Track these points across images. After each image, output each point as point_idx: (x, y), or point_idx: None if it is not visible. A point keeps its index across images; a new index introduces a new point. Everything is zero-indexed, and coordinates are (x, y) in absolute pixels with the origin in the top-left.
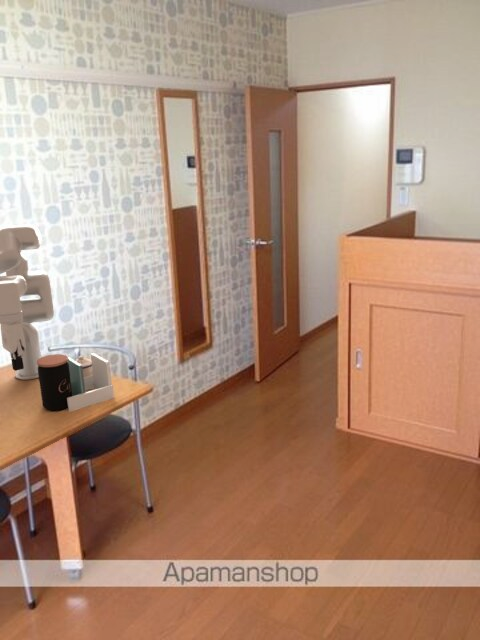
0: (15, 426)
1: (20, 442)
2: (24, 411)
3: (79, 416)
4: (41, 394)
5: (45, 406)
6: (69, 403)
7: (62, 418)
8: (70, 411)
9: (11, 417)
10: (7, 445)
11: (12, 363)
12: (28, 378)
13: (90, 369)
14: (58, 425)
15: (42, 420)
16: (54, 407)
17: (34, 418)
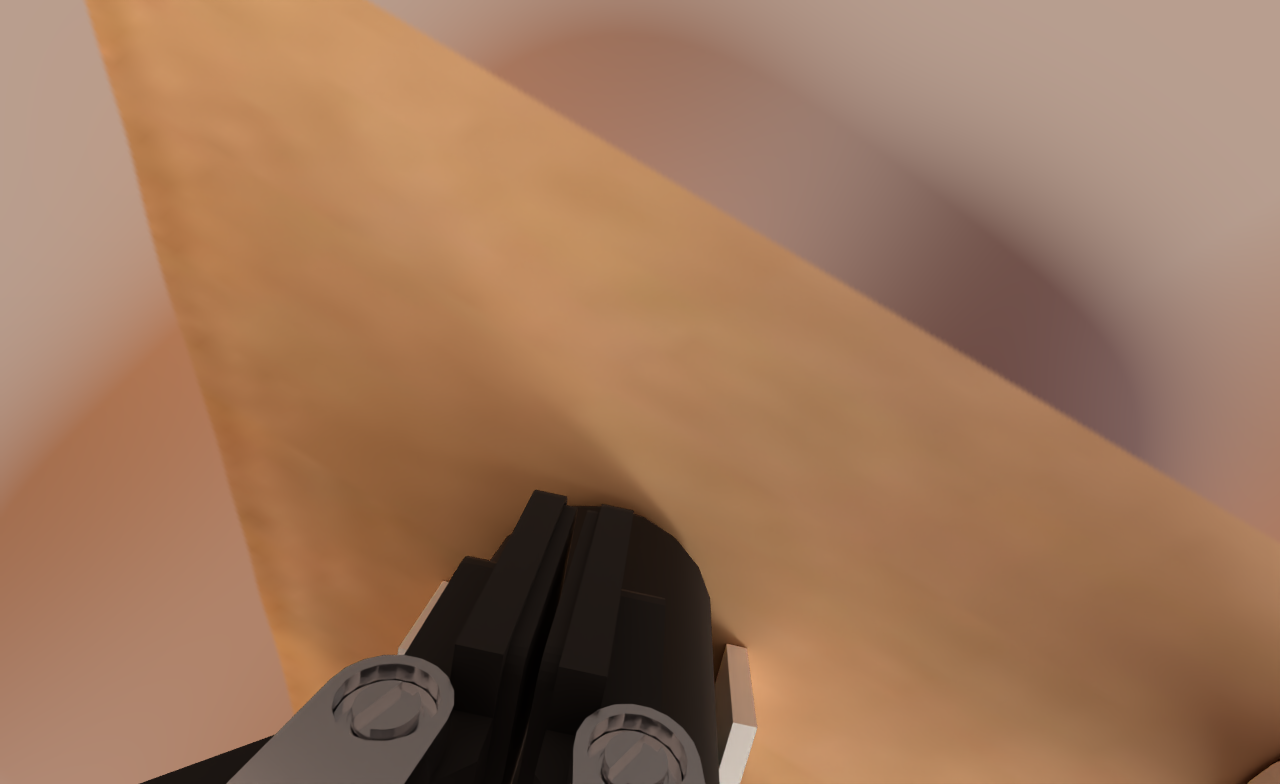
0: (539, 197)
1: (240, 62)
2: (736, 399)
3: (324, 573)
4: (624, 571)
5: (584, 513)
6: (415, 625)
7: (384, 491)
8: (441, 586)
9: (724, 271)
10: None
11: (585, 581)
12: (1277, 772)
13: None
14: (300, 408)
15: (468, 388)
16: (507, 540)
17: (550, 372)
